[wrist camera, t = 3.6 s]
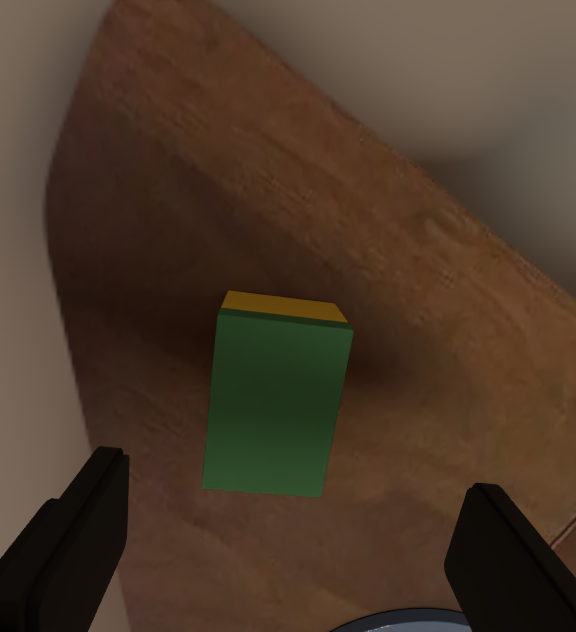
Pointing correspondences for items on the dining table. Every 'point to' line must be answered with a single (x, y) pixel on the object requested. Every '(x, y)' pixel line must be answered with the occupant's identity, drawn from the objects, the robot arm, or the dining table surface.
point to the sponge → (274, 394)
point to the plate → (410, 622)
